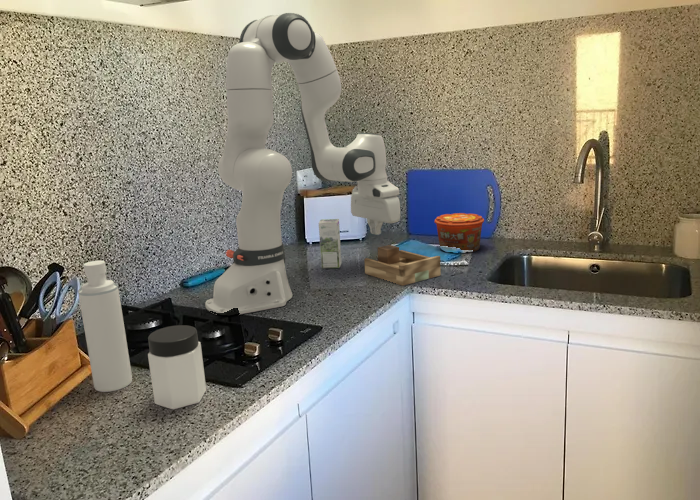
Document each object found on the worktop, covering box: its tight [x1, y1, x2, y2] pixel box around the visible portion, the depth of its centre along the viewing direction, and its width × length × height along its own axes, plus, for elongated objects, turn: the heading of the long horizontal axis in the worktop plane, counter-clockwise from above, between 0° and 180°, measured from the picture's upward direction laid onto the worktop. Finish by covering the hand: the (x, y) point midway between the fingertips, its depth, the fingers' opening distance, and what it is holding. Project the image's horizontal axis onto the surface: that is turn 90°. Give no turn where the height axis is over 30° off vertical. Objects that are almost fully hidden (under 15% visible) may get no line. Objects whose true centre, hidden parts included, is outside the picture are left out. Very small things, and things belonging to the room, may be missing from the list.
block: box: [377, 244, 400, 265], centre depth 176 cm, size 4×4×4 cm
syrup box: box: [318, 218, 342, 269], centre depth 184 cm, size 6×6×14 cm
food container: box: [433, 212, 485, 253], centre depth 197 cm, size 16×16×11 cm
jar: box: [147, 324, 207, 411], centre depth 104 cm, size 9×8×12 cm
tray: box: [363, 249, 442, 286], centre depth 172 cm, size 14×17×6 cm
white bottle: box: [77, 259, 133, 393], centre depth 109 cm, size 7×7×25 cm
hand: (375, 233), depth 180 cm, fingers closed
